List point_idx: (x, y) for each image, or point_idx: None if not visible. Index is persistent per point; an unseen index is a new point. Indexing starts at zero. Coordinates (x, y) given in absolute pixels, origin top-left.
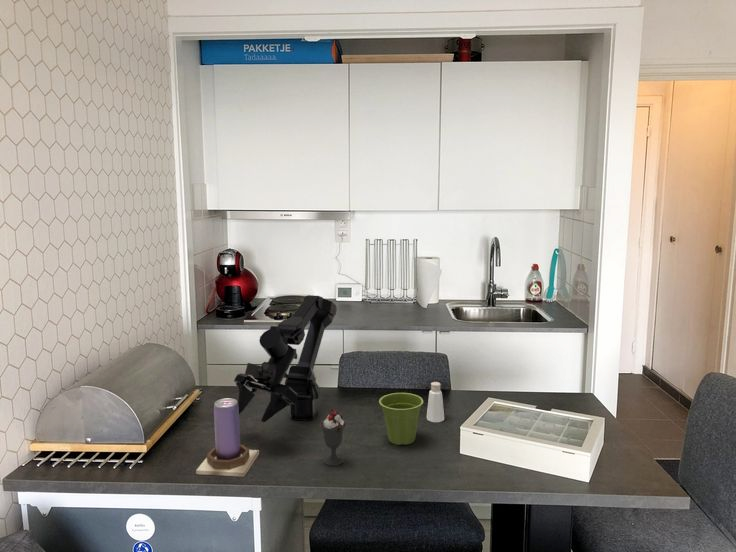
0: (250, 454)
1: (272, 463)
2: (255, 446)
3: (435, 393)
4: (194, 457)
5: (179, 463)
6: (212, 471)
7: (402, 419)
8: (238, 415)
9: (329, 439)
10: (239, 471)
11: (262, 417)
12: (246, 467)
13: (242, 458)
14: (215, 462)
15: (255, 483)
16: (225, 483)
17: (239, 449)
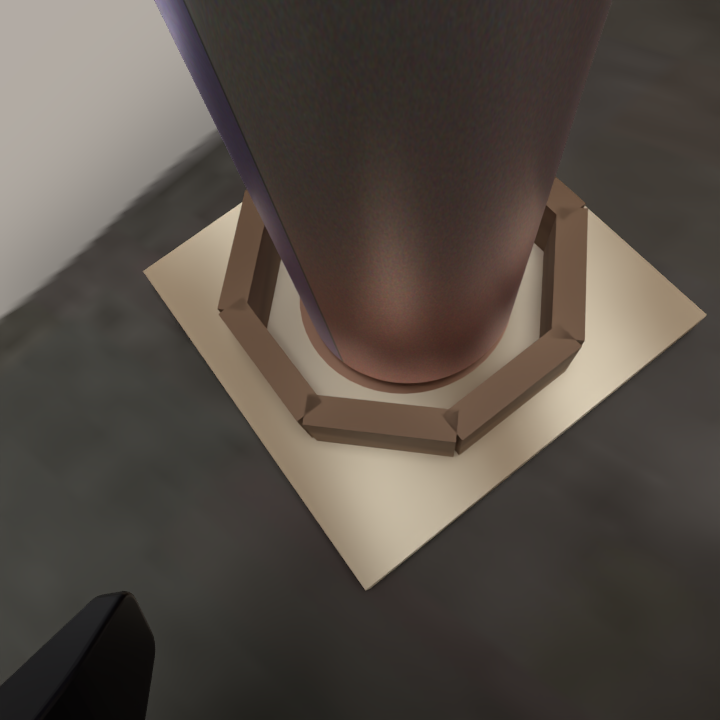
0: (352, 476)
1: (138, 558)
2: (537, 669)
3: None
4: (694, 175)
5: (667, 72)
6: None
7: None
8: (176, 18)
9: None
10: (185, 260)
11: (94, 631)
12: (190, 325)
13: (224, 300)
14: None
15: (32, 293)
16: (188, 166)
17: (308, 311)
